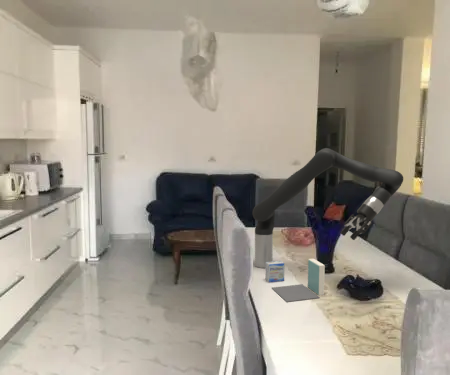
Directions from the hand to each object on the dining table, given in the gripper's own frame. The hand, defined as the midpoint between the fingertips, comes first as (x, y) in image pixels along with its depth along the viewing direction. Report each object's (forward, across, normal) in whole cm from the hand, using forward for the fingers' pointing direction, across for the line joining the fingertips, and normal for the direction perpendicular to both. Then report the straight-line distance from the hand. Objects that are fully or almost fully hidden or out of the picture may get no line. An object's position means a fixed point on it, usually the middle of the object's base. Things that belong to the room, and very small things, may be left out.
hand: (346, 236), depth 181 cm
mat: (+34, 0, -2) cm, 34 cm away
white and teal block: (+27, -1, +6) cm, 27 cm away
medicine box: (+36, -17, -4) cm, 40 cm away
